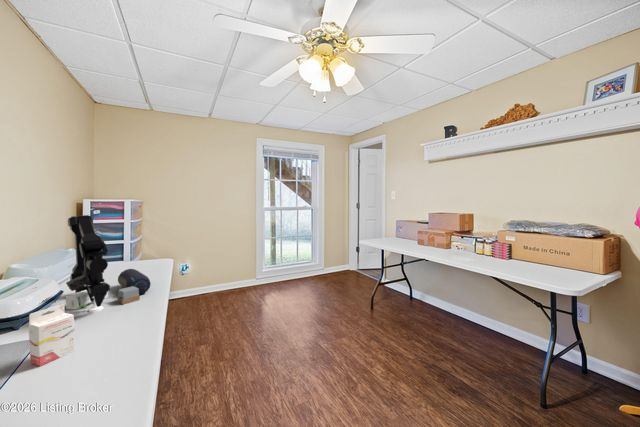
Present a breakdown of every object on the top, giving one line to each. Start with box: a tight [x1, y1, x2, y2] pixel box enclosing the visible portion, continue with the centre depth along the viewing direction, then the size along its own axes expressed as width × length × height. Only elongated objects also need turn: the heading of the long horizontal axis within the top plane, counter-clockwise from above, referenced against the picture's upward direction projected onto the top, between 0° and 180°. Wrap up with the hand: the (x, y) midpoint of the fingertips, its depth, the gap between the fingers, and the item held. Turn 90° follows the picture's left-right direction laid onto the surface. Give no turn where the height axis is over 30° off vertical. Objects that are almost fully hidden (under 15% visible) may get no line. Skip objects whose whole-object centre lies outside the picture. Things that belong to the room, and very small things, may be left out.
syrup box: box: [65, 290, 109, 310], centre depth 119 cm, size 6×6×14 cm
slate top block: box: [117, 286, 140, 299], centre depth 121 cm, size 6×6×3 cm
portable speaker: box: [117, 268, 152, 296], centre depth 135 cm, size 25×10×10 cm, turn 49°
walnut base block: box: [117, 295, 141, 306], centre depth 121 cm, size 7×7×3 cm
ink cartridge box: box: [28, 303, 76, 367], centre depth 78 cm, size 9×5×15 cm, turn 160°
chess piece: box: [88, 296, 104, 313], centre depth 111 cm, size 5×5×10 cm
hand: (95, 303), depth 111 cm, fingers open, 9 cm apart
